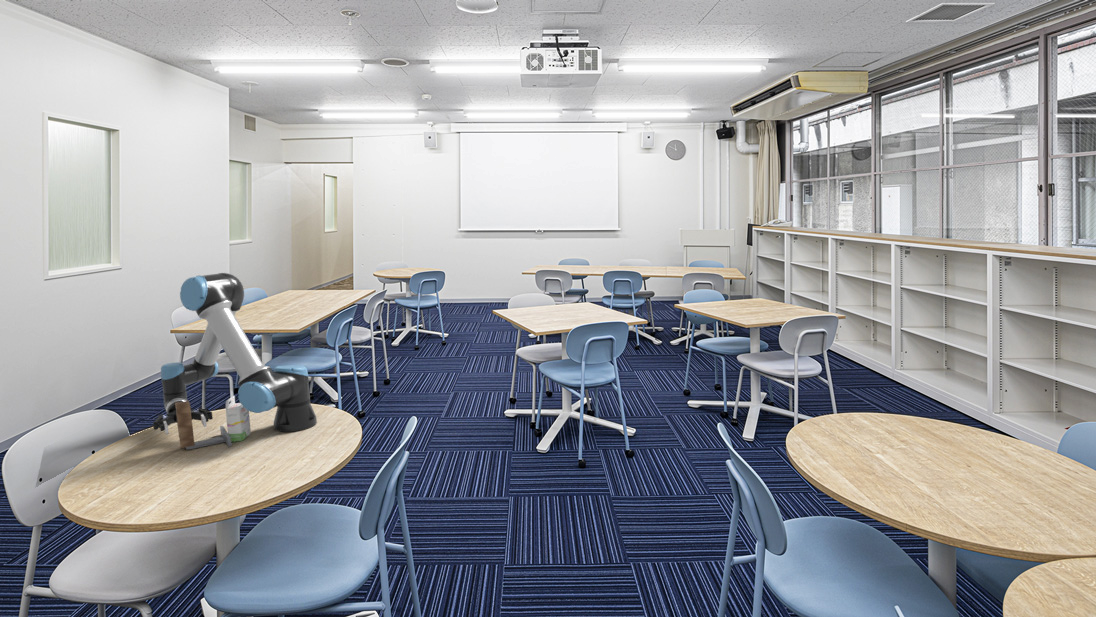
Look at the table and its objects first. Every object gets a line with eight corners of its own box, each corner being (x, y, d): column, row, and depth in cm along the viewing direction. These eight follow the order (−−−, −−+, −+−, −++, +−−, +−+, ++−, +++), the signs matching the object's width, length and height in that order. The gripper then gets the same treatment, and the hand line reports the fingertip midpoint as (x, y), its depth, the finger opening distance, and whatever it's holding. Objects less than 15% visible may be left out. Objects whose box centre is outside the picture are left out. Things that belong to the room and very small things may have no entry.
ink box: (242, 441, 221) (238, 401, 219) (228, 442, 221) (224, 401, 218) (251, 432, 230) (248, 394, 227) (237, 433, 229) (233, 394, 227)
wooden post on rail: (223, 433, 229) (219, 391, 226) (231, 446, 216) (227, 401, 214) (178, 442, 221) (173, 398, 218) (183, 456, 208) (178, 409, 205)
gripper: (215, 414, 236) (225, 429, 218) (143, 427, 222) (147, 445, 205) (213, 394, 234) (223, 409, 217) (140, 407, 221) (144, 423, 203)
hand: (186, 426), depth 211 cm, fingers open, 10 cm apart
